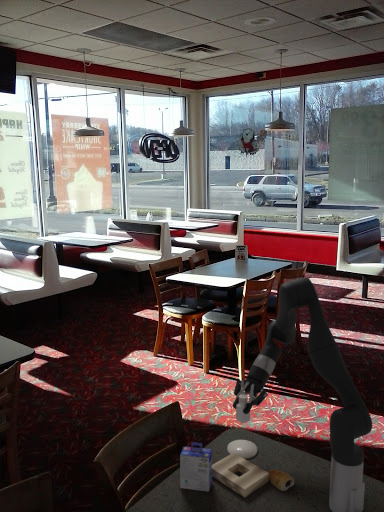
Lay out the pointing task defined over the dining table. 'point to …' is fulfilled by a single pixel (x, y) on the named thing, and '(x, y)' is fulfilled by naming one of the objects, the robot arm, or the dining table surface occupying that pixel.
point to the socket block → (246, 482)
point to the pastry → (280, 479)
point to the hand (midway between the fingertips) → (239, 410)
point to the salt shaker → (240, 407)
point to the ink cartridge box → (196, 468)
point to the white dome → (242, 448)
